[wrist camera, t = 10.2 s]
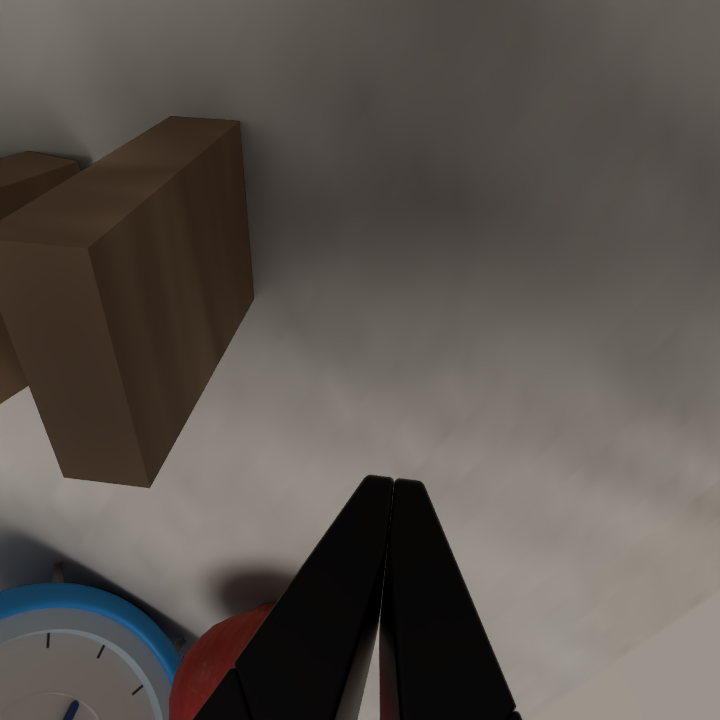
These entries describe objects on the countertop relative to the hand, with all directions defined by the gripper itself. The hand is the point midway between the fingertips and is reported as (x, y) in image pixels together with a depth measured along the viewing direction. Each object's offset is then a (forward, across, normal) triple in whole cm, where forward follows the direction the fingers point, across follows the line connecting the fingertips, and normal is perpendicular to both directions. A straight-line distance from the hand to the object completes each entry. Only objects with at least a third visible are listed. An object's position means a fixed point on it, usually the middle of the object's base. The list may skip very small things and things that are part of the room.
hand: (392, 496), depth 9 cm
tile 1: (+7, +5, -1) cm, 9 cm away
